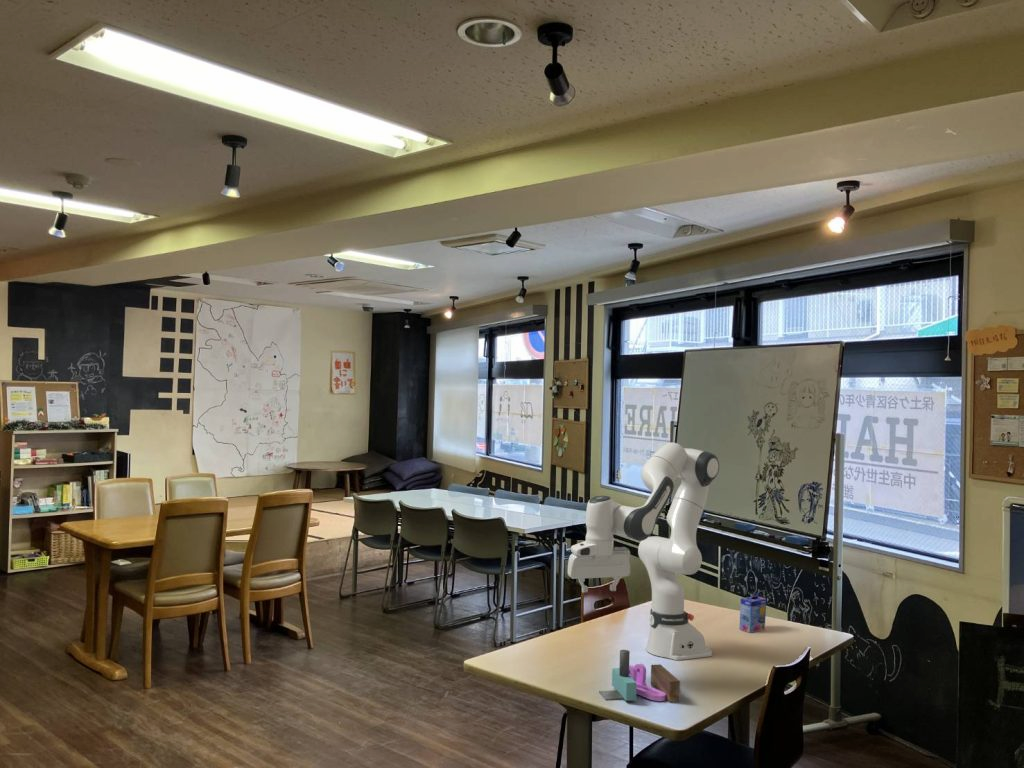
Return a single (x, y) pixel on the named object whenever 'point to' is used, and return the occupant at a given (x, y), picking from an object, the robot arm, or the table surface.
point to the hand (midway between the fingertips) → (598, 591)
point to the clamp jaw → (624, 678)
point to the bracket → (641, 688)
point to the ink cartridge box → (752, 613)
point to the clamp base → (654, 685)
